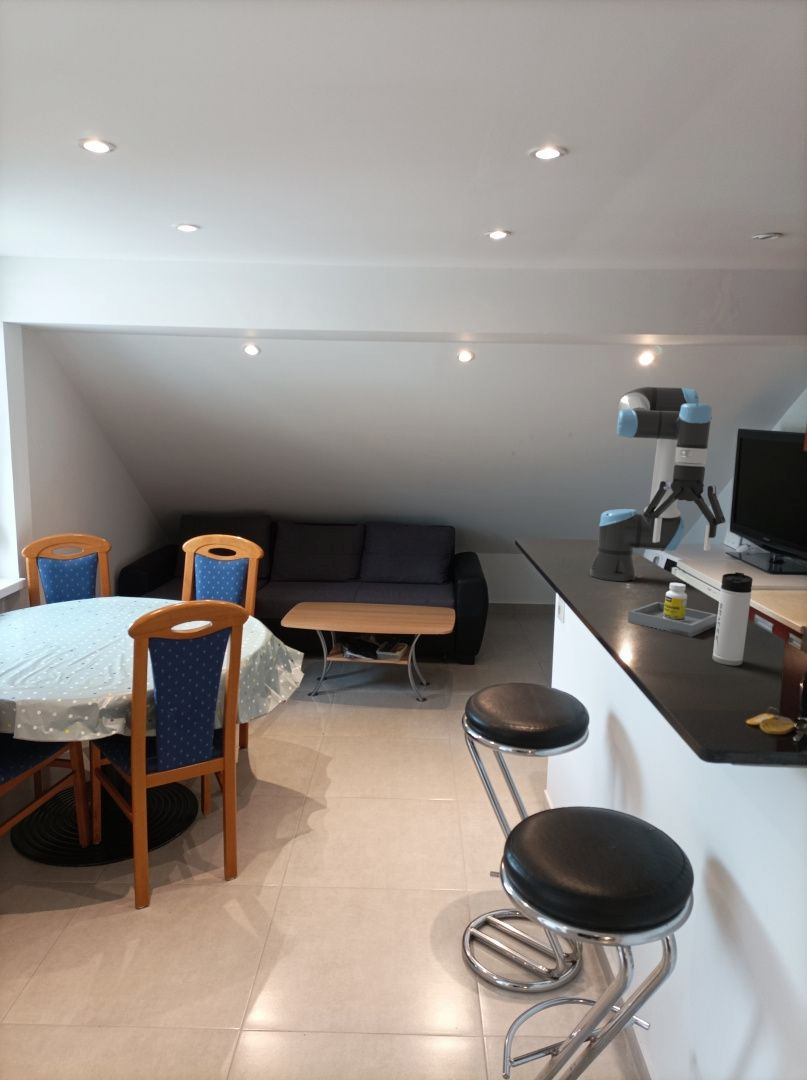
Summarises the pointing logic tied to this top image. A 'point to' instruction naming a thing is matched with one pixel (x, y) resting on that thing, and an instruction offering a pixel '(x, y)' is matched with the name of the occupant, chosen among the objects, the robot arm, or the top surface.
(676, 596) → the supplement bottle
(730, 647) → the travel mug
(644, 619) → the tray
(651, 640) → the top surface
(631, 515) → the robot arm
